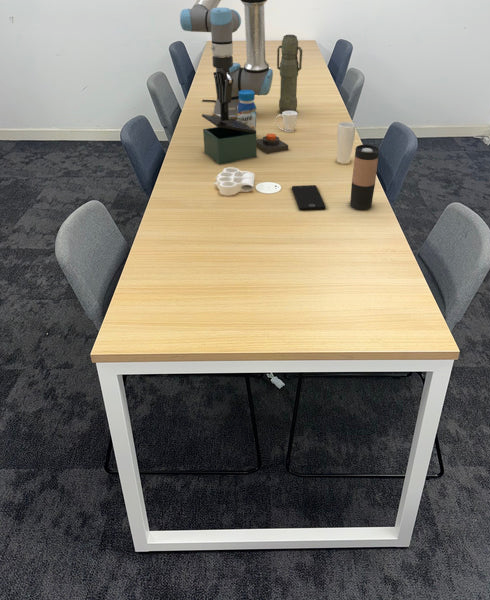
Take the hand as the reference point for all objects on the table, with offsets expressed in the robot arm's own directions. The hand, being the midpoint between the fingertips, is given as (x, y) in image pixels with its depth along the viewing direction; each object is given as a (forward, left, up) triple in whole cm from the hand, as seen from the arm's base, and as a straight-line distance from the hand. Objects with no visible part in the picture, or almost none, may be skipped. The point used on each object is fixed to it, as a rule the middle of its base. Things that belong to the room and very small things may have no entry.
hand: (224, 119), depth 216 cm
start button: (0, +21, -11) cm, 24 cm away
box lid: (0, +2, -2) cm, 3 cm away
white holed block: (+28, -10, -15) cm, 34 cm away
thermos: (-41, +53, -15) cm, 68 cm away
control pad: (0, +21, -15) cm, 26 cm away
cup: (-17, +38, -15) cm, 44 cm away
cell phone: (+50, +8, -15) cm, 53 cm away
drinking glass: (+27, +39, -15) cm, 50 cm away
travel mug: (+63, +21, -15) cm, 68 cm away
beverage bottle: (-15, +17, -15) cm, 27 cm away
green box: (0, +2, -15) cm, 15 cm away
